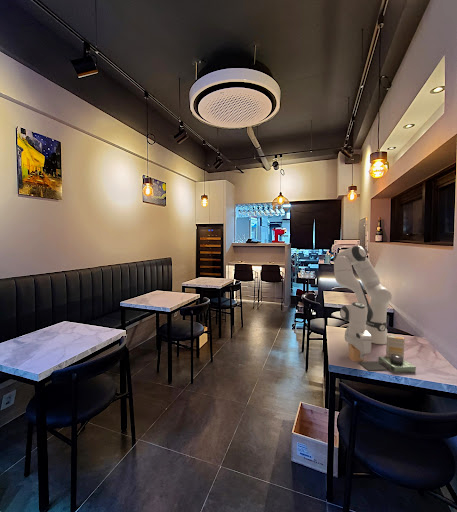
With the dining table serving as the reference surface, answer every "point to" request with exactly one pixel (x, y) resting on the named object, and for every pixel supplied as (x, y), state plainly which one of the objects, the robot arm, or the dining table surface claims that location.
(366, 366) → the mount pad
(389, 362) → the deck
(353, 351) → the stepped tan block
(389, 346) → the supplement box
